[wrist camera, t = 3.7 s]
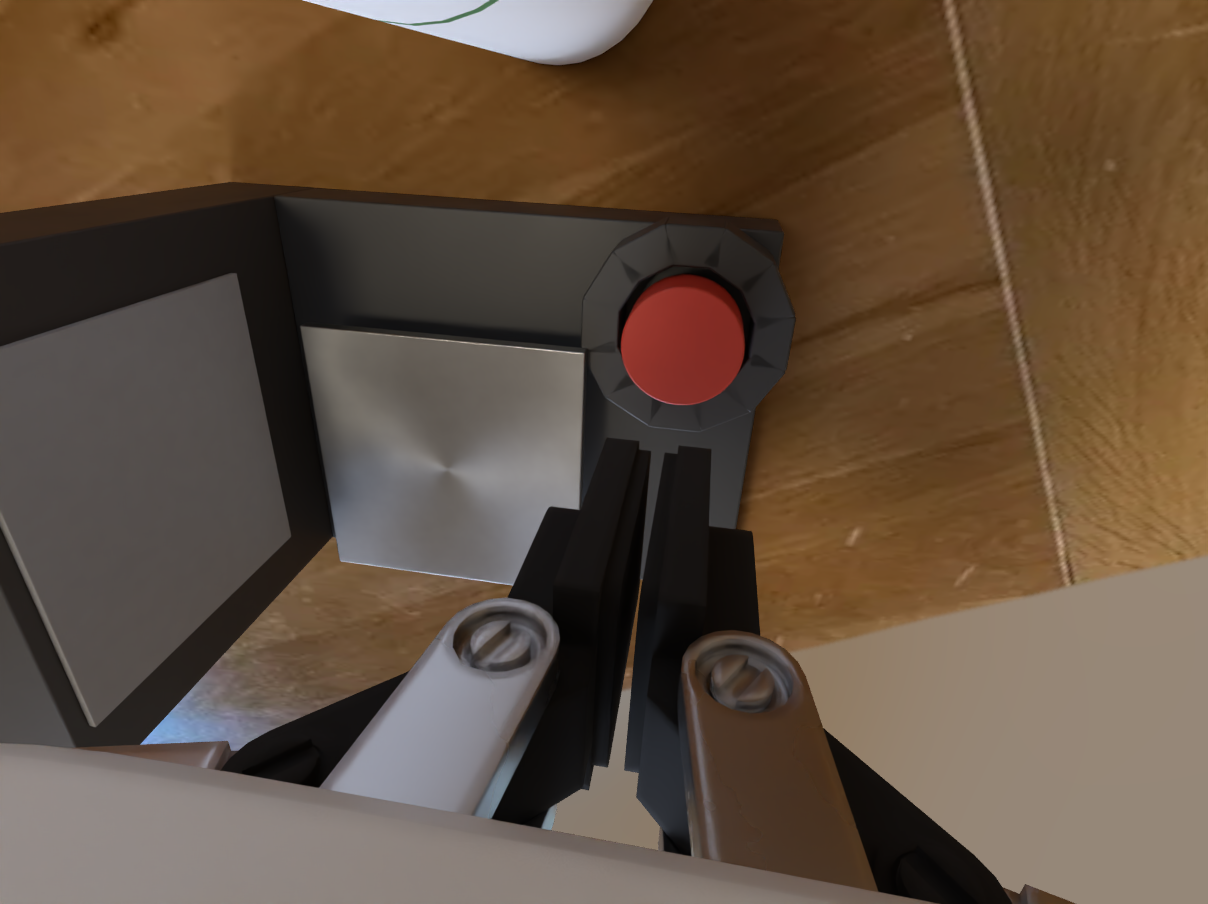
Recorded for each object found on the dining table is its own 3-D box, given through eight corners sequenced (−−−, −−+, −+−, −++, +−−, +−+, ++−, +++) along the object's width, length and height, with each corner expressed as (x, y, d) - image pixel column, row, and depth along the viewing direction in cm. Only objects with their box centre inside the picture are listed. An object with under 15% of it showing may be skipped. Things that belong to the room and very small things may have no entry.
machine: (796, 212, 22) (811, 233, 19) (738, 554, 29) (740, 623, 25) (314, 180, 25) (236, 193, 21) (361, 505, 31) (309, 562, 27)
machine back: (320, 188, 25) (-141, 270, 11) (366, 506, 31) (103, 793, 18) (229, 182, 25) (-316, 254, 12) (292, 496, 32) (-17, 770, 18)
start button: (751, 278, 20) (753, 292, 18) (735, 390, 21) (735, 412, 20) (631, 269, 20) (624, 281, 19) (624, 379, 22) (617, 399, 20)
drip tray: (587, 347, 21) (585, 352, 21) (579, 586, 26) (576, 594, 25) (307, 321, 22) (299, 325, 22) (345, 554, 27) (339, 561, 26)
